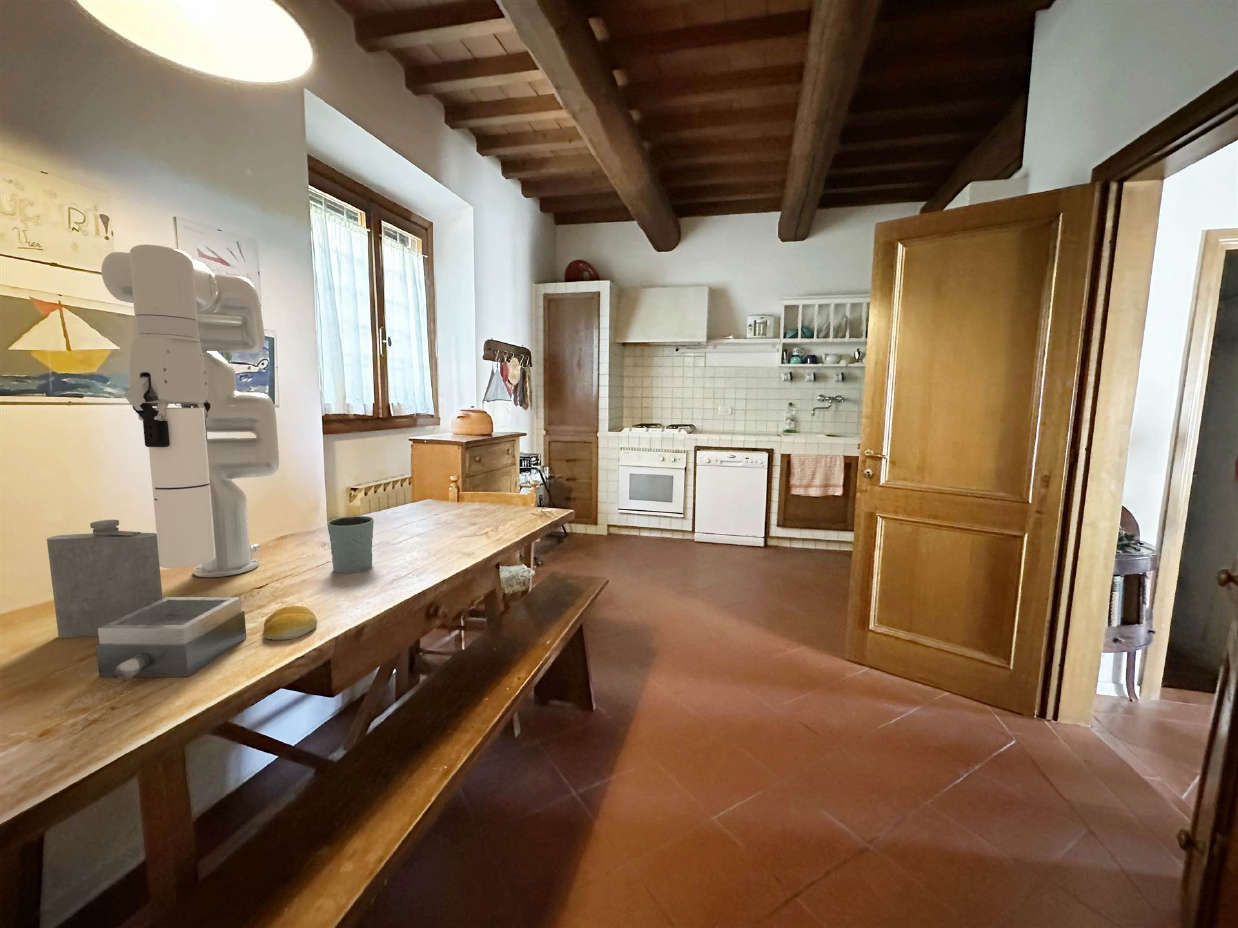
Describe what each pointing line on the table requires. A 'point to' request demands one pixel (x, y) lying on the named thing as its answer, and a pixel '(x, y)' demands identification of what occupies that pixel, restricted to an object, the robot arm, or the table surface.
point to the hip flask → (102, 577)
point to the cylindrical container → (183, 491)
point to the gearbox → (170, 637)
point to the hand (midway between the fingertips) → (177, 443)
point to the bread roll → (289, 623)
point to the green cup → (351, 543)
